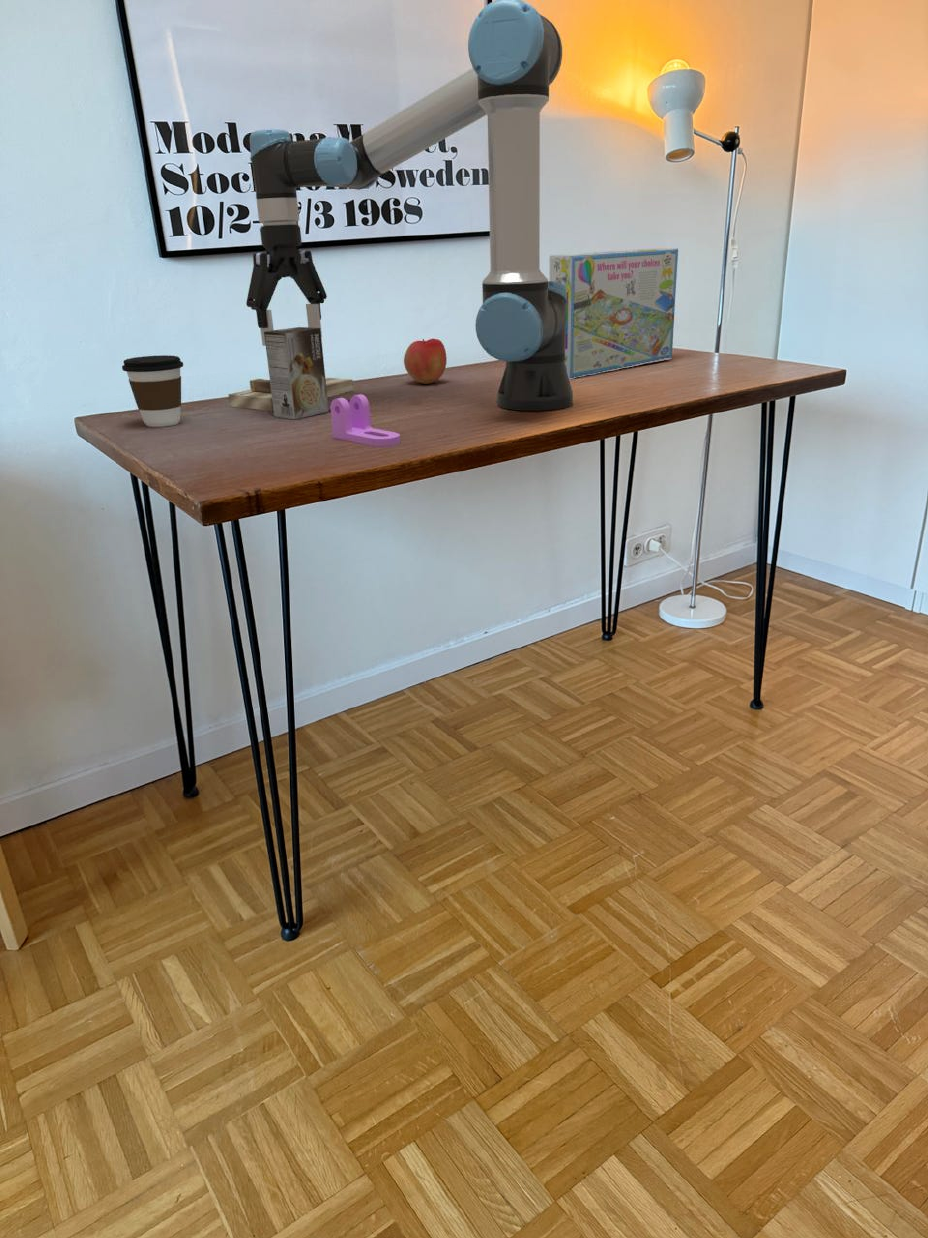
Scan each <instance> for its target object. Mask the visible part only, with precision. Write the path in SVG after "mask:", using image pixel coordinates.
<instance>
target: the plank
mask: <svg viewBox="0 0 928 1238" xmlns="http://www.w3.org/2000/svg"><path fill="white" fill-rule="evenodd" d="M325 380H326V390H327V398H331V397H335V396H339V395H344V394H347V393H350V391H351V392H354V386H353V385H354V384H353V379H348V378H335V377H325ZM346 392H347V393H346ZM228 400H229V402H228V403H229V407H230V408H241V409H248V410H249V409H250V410H258V411H268V412H274V410H273V402H272V393H271V392H261V391H251V389H247V390H242V391H239V392H237V391H236V392H233V393H228Z"/></svg>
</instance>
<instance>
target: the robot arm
mask: <svg viewBox="0 0 928 1238" xmlns="http://www.w3.org/2000/svg"><path fill="white" fill-rule="evenodd" d="M467 53H468V57H469V61H470V64H471V66H472V68H470V69H468V70H467V71H465V72H463V73H462V74H460V75H459V76H457V77H456V78H454V79H452V80H450V81H449V82H447V83H445V84H444V85H442V86H440V87H438V88H437V89H436V90H434V91H432V92H431V93H429V94H427V95H425V96H424V97H423V98H420V99H419V100H418V101H415V102H414V103H412V104H410V105H408V107H406V108H404V109H403V110H401V111H399V112H398V113H396V114H394V115H393V116H390V117H389V118H388V119H386V120H385V121H383V122H381V123H379V124H378V125H376V126H375V127H372V128H370V129H369V130H367V131H366V132H364V133H363V134H362V135H360V136H358V137H357V138H354V139H352V140H351V141H349V140H348V138H345V137H331V136H329V137H324V138H316V139H307V140H295V141H294V140H292V138H291V134H290V133H289V131H287V130H286V129H275V128H273V129H271V128H270V129H258V130H255V131H252V133H251V134H250V136H249V148H250V157H249V159H250V162H251V167H252V173H253V175H252V176H253V181H254V187H255V188H254V189H255V196H256V197H255V199H256V200H255V201H256V205H257V206H256V207H257V215H258V222H259V223H261V224H262V226H260V228H259V232H260V241H261V246H262V247H263V248H265V252H256V253H255V252H254V253H253V254H252V259H253V260H252V262H253V264H252V265H253V268H252V272H251V278H250V283H249V287H248V292H247V298H246V307H247V308H250V309H252V311H256V319H257V321H256V322H257V326H258V328H260V337H261V344H262V346H265V347H266V345H265V337H264V332H266V331H273V330H274V322H273V315H272V309H268V307H269V305H270V302H271V301H272V298H273V295H274V293H275V290H276V288H277V285H278V283H279V281H281V280H282V279H283V278H291V279H293V281H294V282H295V284H296V285H297V287H298V288H299V290H300V291H301V293H302V294H303V296H304V297H305V299H306V300H307V302H308V303H305V309H306V316H307V317H306V318H307V327H309V328H321V329H320V330H321V331H322V326H321V325H322V324H321V320H322V315H321V314H322V312H321V304H324V302H325V300H326V299H327V297H328V296H327V292H326V290H325V288H324V285H323V282H322V281H321V277H320V276H319V274H318V272H317V269H316V267H315V266H316V265H315V263H314V260H313V254H312V252H311V250H300V248H299V247H300V246H302V241H303V240H302V234H301V233H302V232H301V227H300V225H299V224H298V223H297V222H299V221H300V213H299V206H298V197H297V196H298V195H297V189H298V188H310V187H312V188H313V187H329V188H331V187H333V188H345V189H346V188H347V189H352V190H357V191H358V190H359V191H360V190H363V189H368V188H370V187H371V188H372V186H374V184H376V183H377V181H378V179H379V177H380V176H382V175H384V174H385V173H387V172H389V171H390V170H392V169H394V168H395V167H397V166H399V165H402V163H404V162H407V161H409V159H412V158H413V157H415V156H417V155H419V154H420V153H422V152H424V151H426V150H428V149H429V148H431V147H432V146H434V145H436V144H437V143H439V142H441V141H443V140H445V139H447V138H448V137H450V136H451V135H454V134H455V133H458V132H459V131H461V130H463V129H464V128H466V127H468V126H471V124H474V123H475V122H477V121H478V120H481V119H482V118H484V117H485V116H487V147H488V148H487V150H488V154H487V155H488V156H487V157H488V195H489V199H488V202H489V245H490V246H489V247H490V248H489V250H490V251H489V256H490V260H489V261H490V271H489V273H488V274H487V276H486V277H484V278H483V280H482V284H481V285H482V287H481V288H482V305H481V306H480V307H479V309H478V311H477V314H476V318H475V324H474V325H475V333H476V337H477V340H478V343H479V344H480V346H481V348H482V349H483V351H485V352H486V353H487V354H488V355H489V356H491V357H493V358H494V359H496V360H498V361H501V362H505V367H504V371H503V374H502V377H501V380H500V384H499V387H498V391H497V396H496V397H497V402H496V403H497V406H498V407H499V408H503V409H506V410H507V409H508V410H513V411H522V412H523V411H524V412H526V411H527V412H528V411H530V412H531V411H533V412H537V411H540V412H541V411H552V410H553V411H555V410H561V409H565V408H568V407H571V406H572V405H574V404H573V403H574V393H573V388H572V385H571V381H570V380H569V377H568V374H567V371H566V367H565V337H566V304H567V297H566V288H565V286H564V284H562V283H560V282H555V281H550V280H549V279H548V277H547V276H546V275H545V274H544V273H543V272H542V271H541V268H540V249H541V248H540V247H541V246H540V240H541V239H540V230H541V229H540V220H541V218H540V215H541V214H540V210H541V209H540V208H541V207H540V205H541V204H540V200H541V199H540V193H541V192H540V191H541V189H540V188H541V187H540V179H541V178H540V175H541V173H540V172H541V171H540V167H541V166H540V165H541V163H540V162H541V160H540V159H541V158H540V156H541V150H540V148H541V146H540V145H541V143H540V141H541V140H540V137H541V136H540V135H541V133H540V131H541V129H540V128H541V127H540V123H541V119H540V118H541V114H540V113H541V112H542V110H543V108H545V106H546V105H547V104H548V102H549V101H550V86H551V84H553V82H554V80H556V78H557V77H558V74H559V72H560V69H561V65H562V61H563V45H562V39H561V36H560V34H559V31H558V30H557V28H556V27H555V25H554V24H553V23H552V22H551V21H550V20H549V19H548V18H547V17H545V16H543V15H542V14H540V13H539V11H538V10H537V9H536V8H535V7H534V6H533V5H532V4H530V3H529V2H527V1H525V0H493V1H492V2H491V1H490V2H489V3H488V4H487V5H486V6H485V7H483V8H482V9H481V11H479V13H478V14H477V16H476V17H475V19H474V20H473V23H472V25H471V27H470V31H469V34H468V41H467ZM322 335H323V334H322V332H321V339H322V337H323V336H322Z"/></svg>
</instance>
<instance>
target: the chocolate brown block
mask: <svg viewBox="0 0 928 1238" xmlns="http://www.w3.org/2000/svg"><path fill="white" fill-rule="evenodd" d="M249 387H250V390H251V391H261V392H271V385H270V379H262V378H256V379H251V380H249Z"/></svg>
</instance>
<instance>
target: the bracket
mask: <svg viewBox="0 0 928 1238" xmlns="http://www.w3.org/2000/svg"><path fill="white" fill-rule="evenodd" d="M329 407H330V417H331V428H332V430H331V431H332V438H333V439H337V440H338V439H339V440H341V441H347V442H351V443H357V444H361V445H365V446H370V447H379V448H384V447H387V448H388V447H394V446H398V445H399V444H401V434H400V433H399V432H394V431H389V430H384V429H378V428H374V427H372V425H371V410H370V403H369V400H368V398H367V396H365V395H364V394H360V393H359V394H355V395H352V396H351V397H350V399H349V402H348V400H347V399H346V398H344V397H339V398H334V399H332V400H331V403H330V406H329Z"/></svg>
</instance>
